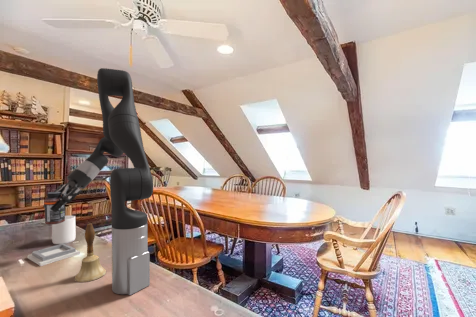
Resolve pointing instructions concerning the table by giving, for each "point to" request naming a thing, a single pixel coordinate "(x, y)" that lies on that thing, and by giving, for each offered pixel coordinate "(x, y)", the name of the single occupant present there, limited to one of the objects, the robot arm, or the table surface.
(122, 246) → the robot arm
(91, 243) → the hand bell
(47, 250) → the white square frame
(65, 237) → the mug
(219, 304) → the table surface
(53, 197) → the supplement bottle
